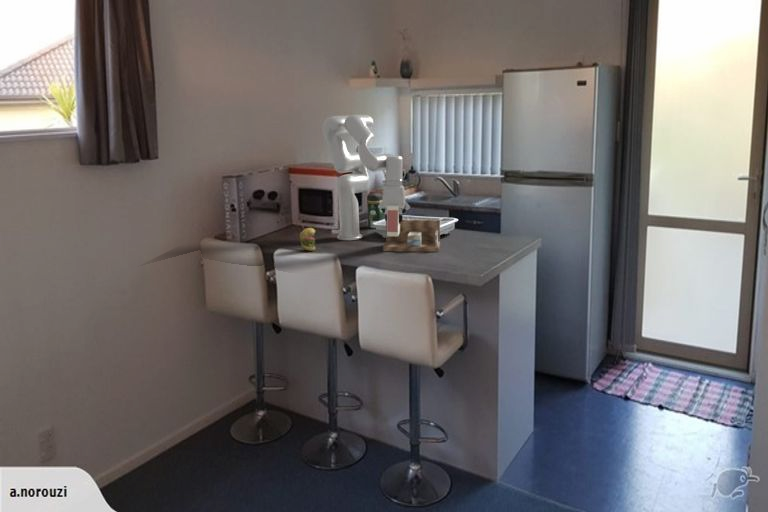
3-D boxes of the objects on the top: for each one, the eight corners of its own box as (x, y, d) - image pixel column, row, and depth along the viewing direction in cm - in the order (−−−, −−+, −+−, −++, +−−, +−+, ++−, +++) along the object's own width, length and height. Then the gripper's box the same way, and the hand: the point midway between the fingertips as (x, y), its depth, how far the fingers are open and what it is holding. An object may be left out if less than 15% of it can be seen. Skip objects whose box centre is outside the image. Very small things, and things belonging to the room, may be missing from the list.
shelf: (383, 251, 294) (382, 225, 291) (386, 244, 306) (386, 219, 304) (438, 251, 290) (438, 225, 288) (439, 245, 303) (439, 220, 300)
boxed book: (386, 236, 294) (387, 205, 290) (389, 231, 303) (389, 202, 299) (397, 236, 293) (398, 206, 290) (400, 232, 302) (400, 202, 298)
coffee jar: (373, 225, 354) (372, 191, 350) (386, 226, 351) (386, 192, 346) (365, 228, 346) (364, 193, 342) (378, 229, 342) (377, 194, 338)
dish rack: (398, 227, 348) (398, 212, 346) (461, 233, 330) (461, 217, 329) (368, 238, 322) (367, 223, 320) (435, 245, 304) (435, 228, 302)
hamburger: (316, 252, 294) (314, 226, 292) (300, 253, 294) (298, 227, 291) (316, 248, 302) (315, 223, 299) (300, 249, 301) (299, 223, 298)
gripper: (374, 184, 290) (374, 223, 294) (412, 185, 287) (411, 225, 292) (376, 181, 297) (376, 220, 302) (413, 182, 294) (413, 221, 299)
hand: (393, 222), depth 297 cm, fingers closed on boxed book, 5 cm apart
